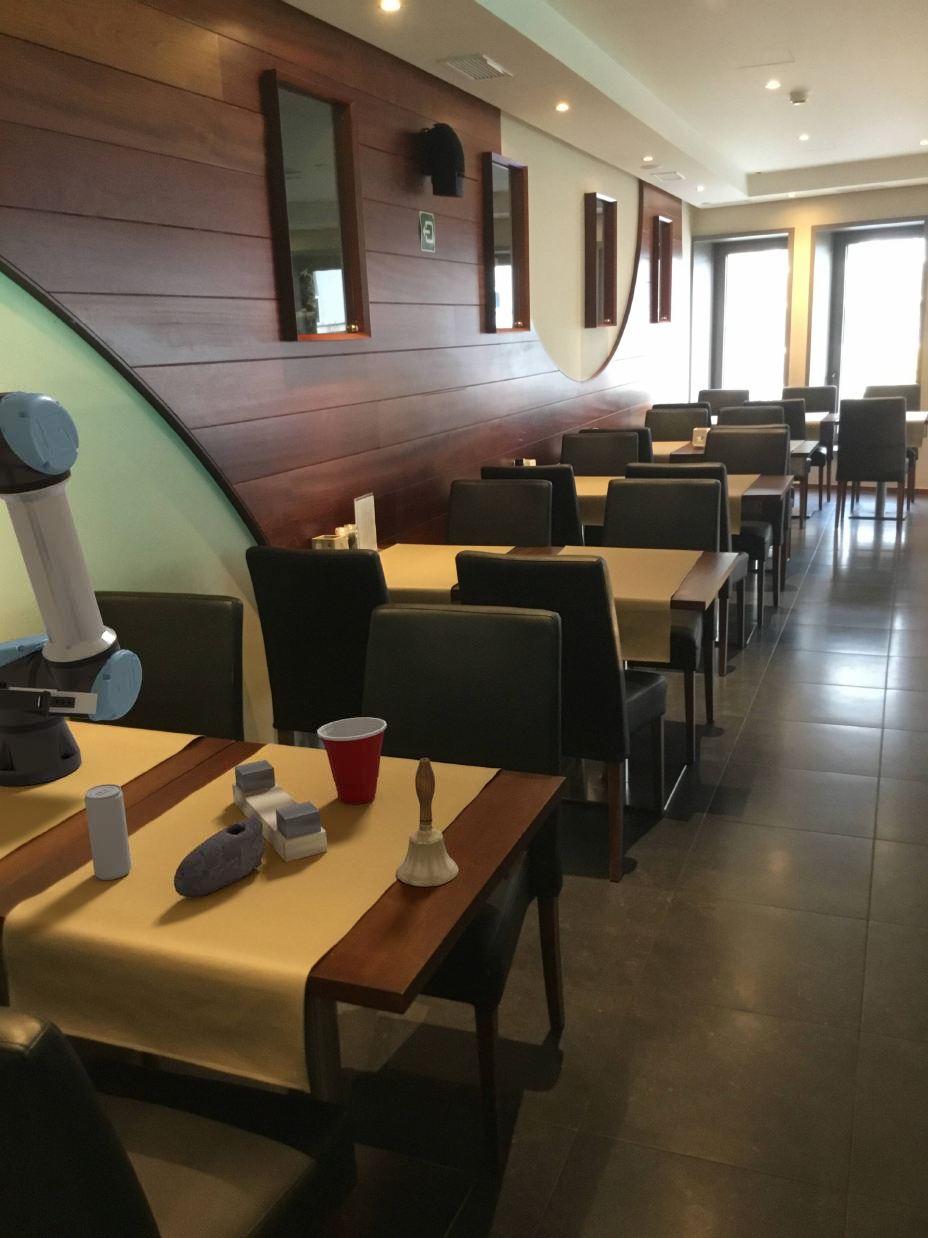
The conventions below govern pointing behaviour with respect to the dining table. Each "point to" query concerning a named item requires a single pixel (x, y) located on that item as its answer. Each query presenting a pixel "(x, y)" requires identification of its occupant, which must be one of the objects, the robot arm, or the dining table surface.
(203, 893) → the perforated stone tool
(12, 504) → the robot arm
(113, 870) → the beverage can
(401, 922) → the dining table surface
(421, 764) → the hand bell
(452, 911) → the dining table surface
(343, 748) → the plastic cup
